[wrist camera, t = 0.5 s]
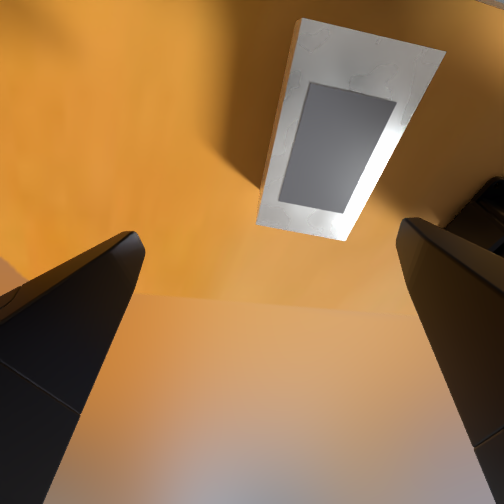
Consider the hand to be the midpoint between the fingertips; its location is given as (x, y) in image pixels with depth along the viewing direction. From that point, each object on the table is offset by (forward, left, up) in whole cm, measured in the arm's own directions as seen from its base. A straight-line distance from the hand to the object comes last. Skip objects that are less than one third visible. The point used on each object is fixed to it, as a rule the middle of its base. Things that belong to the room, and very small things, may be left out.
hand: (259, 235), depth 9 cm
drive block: (-3, -1, -12) cm, 12 cm away
